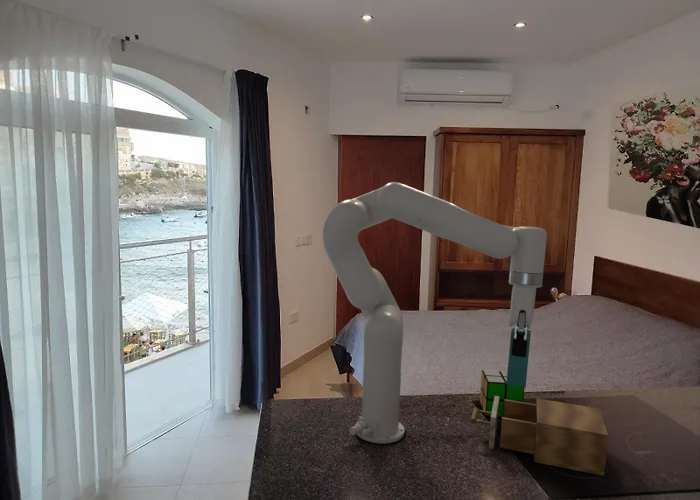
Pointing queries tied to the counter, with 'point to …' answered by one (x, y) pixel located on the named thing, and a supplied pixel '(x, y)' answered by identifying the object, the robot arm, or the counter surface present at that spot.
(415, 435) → the counter surface
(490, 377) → the puzzle cube
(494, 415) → the drawer
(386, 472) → the counter surface
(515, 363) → the block
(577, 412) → the cabinet
